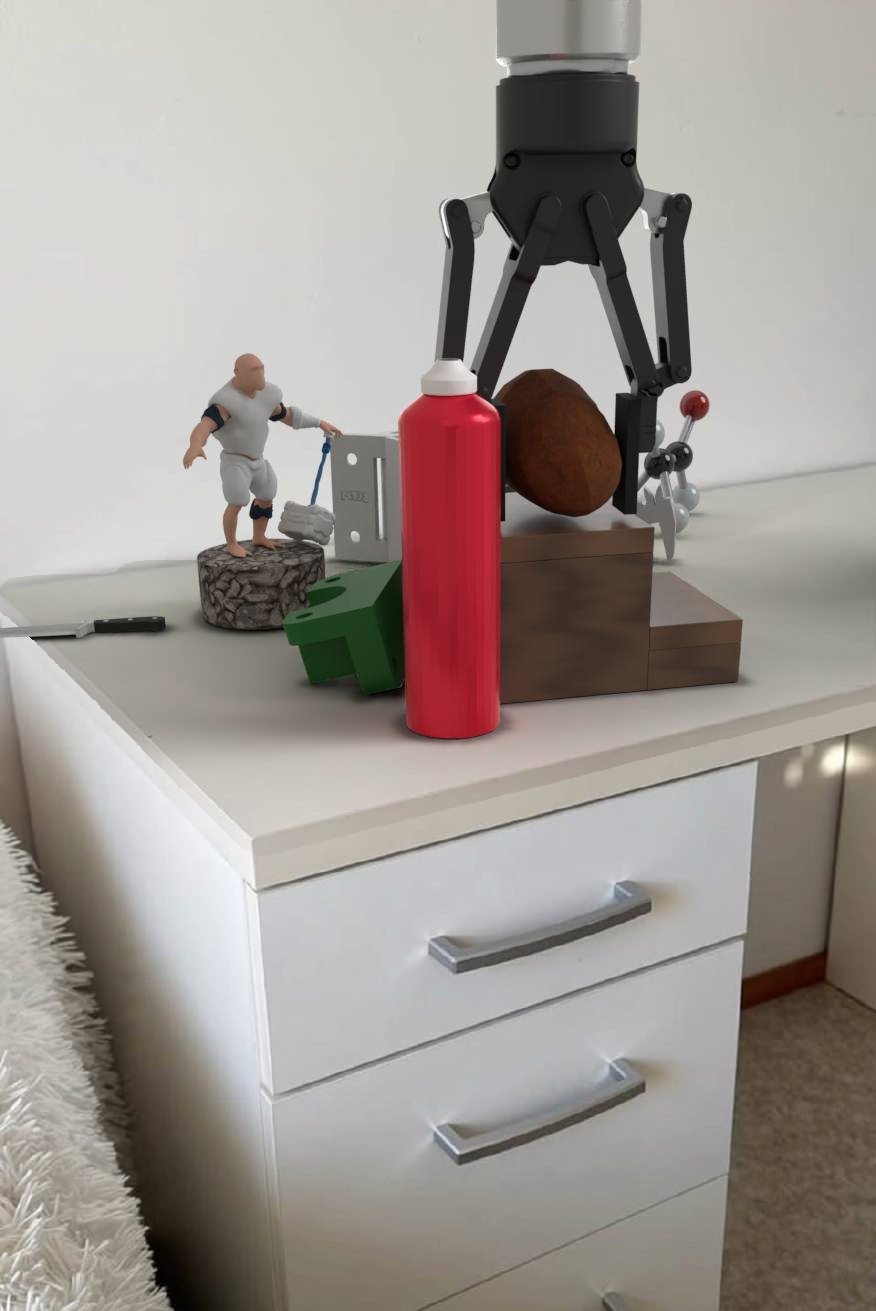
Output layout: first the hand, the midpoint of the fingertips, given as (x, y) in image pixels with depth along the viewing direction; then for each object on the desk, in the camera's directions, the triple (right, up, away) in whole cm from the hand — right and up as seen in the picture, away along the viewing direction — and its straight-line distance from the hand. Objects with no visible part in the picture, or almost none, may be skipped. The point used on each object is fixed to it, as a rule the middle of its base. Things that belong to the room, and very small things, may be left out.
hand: (559, 512), depth 84 cm
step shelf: (+2, -8, +8) cm, 11 cm away
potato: (0, +1, +3) cm, 3 cm away
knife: (-34, -5, +14) cm, 37 cm away
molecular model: (+13, +10, +44) cm, 47 cm away
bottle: (-6, -13, -2) cm, 14 cm away
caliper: (+2, +4, +33) cm, 33 cm away
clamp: (-12, -9, +7) cm, 17 cm away
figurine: (-20, -3, +19) cm, 28 cm away
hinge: (-10, +3, +30) cm, 32 cm away
